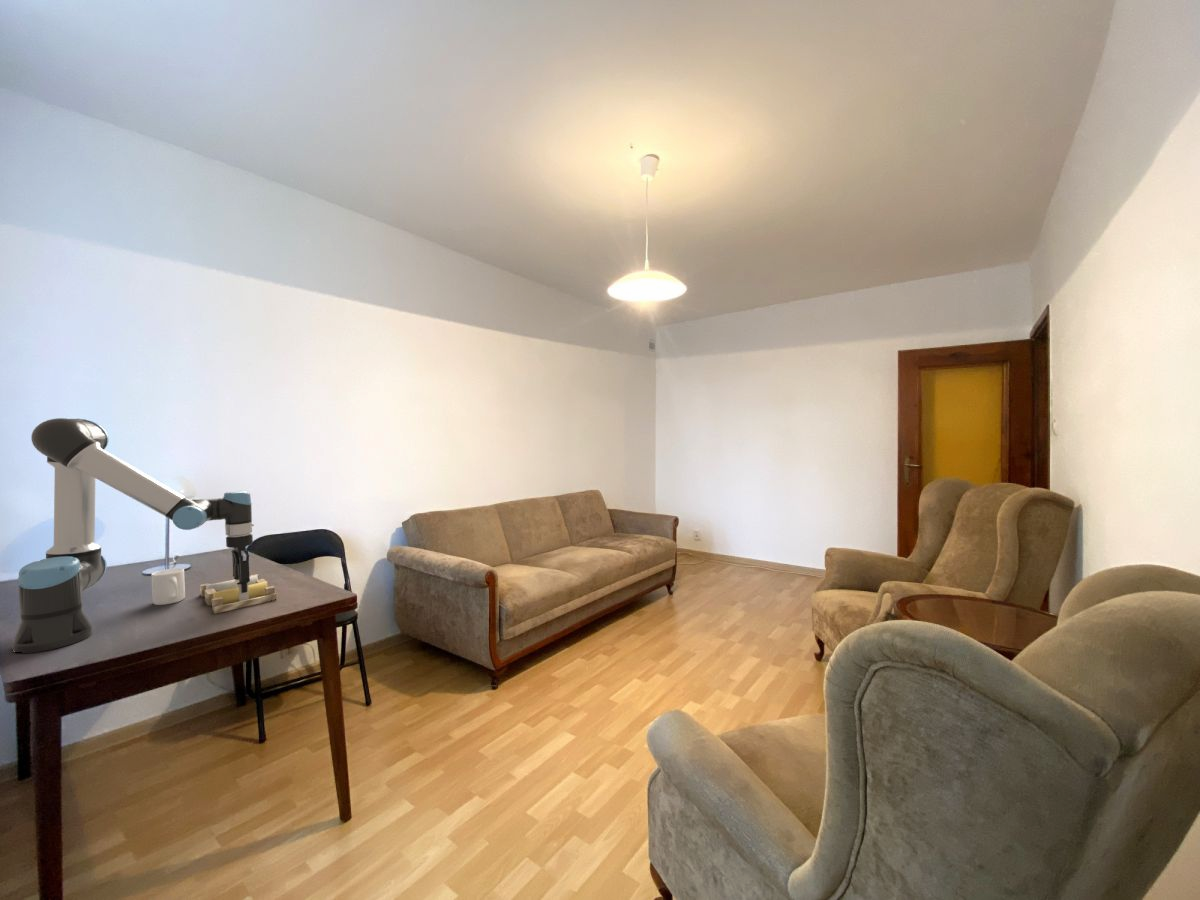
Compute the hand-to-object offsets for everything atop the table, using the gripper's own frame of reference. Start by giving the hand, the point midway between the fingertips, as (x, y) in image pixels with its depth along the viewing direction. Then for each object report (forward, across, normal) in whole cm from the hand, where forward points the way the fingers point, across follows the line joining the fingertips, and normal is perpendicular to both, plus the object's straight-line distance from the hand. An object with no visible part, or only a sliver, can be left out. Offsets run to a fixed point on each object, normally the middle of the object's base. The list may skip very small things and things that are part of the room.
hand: (242, 599), depth 169 cm
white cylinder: (+1, +13, 0) cm, 13 cm away
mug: (+1, +18, +17) cm, 25 cm away
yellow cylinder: (0, -1, 0) cm, 1 cm away
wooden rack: (+1, +6, 0) cm, 6 cm away
